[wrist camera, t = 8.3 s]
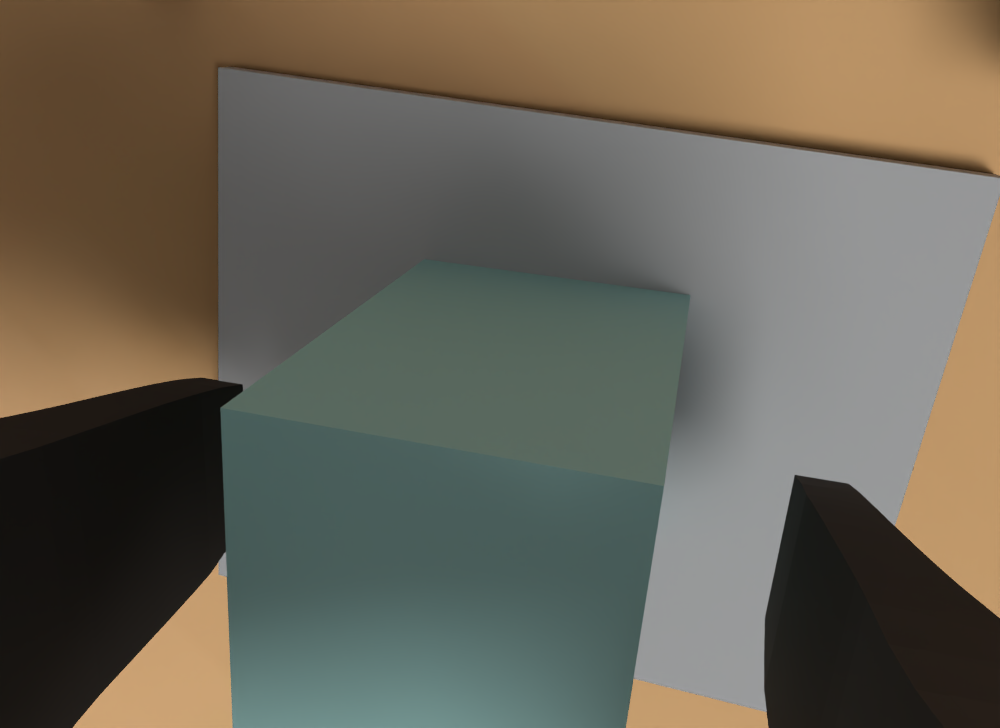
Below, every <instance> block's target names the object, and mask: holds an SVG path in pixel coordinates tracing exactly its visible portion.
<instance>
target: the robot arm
mask: <svg viewBox="0 0 1000 728" xmlns="http://www.w3.org/2000/svg"><path fill="white" fill-rule="evenodd" d="M241 392H243V384H237V383H231V382H225V381H219V380H212V379H206V378H192V379H181V380H174V381H168V382H163V383H157V384H152V385H148V386H143V387H138V388H134V389H129V390H125V391H120V392H116V393H112V394H107V395H103V396H99V397H95V398H90V399H86V400H82V401H77V402H73V403H69V404H65V405H60V406H56V407H52V408H47V409H42V410H37V411H33V412H28V413H23V414H18V415H13V416H9V417H4V418H0V728H73V726H74V725H75V724H76V722H77V721H78V720H79V719H80V718H81V716H82V715H83V714H84V713H85V712H86V711H87V709H88V708H89V707H90V706H91V705H92V703H93V702H94V701H95V700H96V699H97V698H98V696H99V695H100V694H101V693H102V692H103V691H104V690H105V689H106V687H107V686H108V685H109V684H110V683H111V682H112V681H113V680H114V679H115V678H116V677H117V676H118V674H119V673H120V672H121V671H122V670H123V669H124V668H125V667H126V666H127V665H128V664H129V663H130V661H131V660H132V659H133V658H134V657H135V656H136V655H137V654H138V653H139V652H140V651H141V650H142V648H143V647H144V646H145V645H146V644H147V643H148V642H149V641H150V640H151V639H152V638H153V637H154V635H155V634H156V633H157V632H158V631H159V630H160V629H161V628H162V627H163V626H164V625H165V624H166V622H167V621H168V620H169V619H170V618H171V617H172V616H173V615H174V614H175V613H176V612H177V610H178V609H179V608H180V607H181V606H182V605H183V604H184V603H185V602H186V600H187V599H188V598H189V597H190V596H191V595H192V594H193V593H194V592H195V590H196V589H197V588H198V587H199V586H200V585H201V584H202V583H203V581H204V580H205V579H206V578H207V577H208V576H209V574H210V573H211V572H212V570H213V569H214V568H215V566H216V565H217V563H218V562H219V560H220V559H221V558H222V556H223V555H224V553H225V552H226V539H225V513H224V488H223V462H222V436H221V411H220V408H221V407H222V406H224V405H225V404H226V403H228V402H229V401H230V400H232V399H233V398H235V397H236V396H237V395H239V394H240V393H241ZM764 693H765V701H766V710H767V718H768V726H769V728H1000V618H999V617H997V616H996V615H995V614H994V613H993V612H991V611H990V610H989V609H988V608H986V607H985V606H984V605H983V604H981V603H980V602H979V601H978V600H977V599H975V598H974V597H973V596H972V595H970V594H969V593H968V592H967V591H965V590H964V589H963V588H962V587H961V586H960V585H958V584H957V583H956V582H955V581H954V580H953V579H951V578H950V577H949V576H948V575H947V574H946V573H945V572H943V571H942V570H941V569H940V568H939V567H938V566H937V565H936V564H935V563H933V562H932V561H931V560H930V559H929V558H928V557H927V556H926V555H925V554H924V553H923V552H921V551H920V550H919V549H918V548H917V547H916V546H915V545H914V544H913V543H912V542H911V541H910V540H909V539H908V538H907V537H906V536H904V535H903V534H902V533H901V532H900V531H899V530H898V529H897V528H896V527H895V526H894V525H893V524H892V523H891V522H890V521H889V520H888V519H887V518H886V517H885V516H884V515H883V514H882V513H881V512H880V511H879V510H878V509H877V508H876V507H874V506H873V505H872V504H871V503H870V502H869V501H868V500H867V499H866V498H865V497H864V496H863V495H862V494H861V493H860V492H858V491H857V490H856V489H855V488H854V487H852V486H851V485H850V484H848V483H842V482H836V481H830V480H823V479H817V478H811V477H805V476H799V475H795V476H794V481H793V486H792V491H791V495H790V500H789V505H788V510H787V514H786V519H785V524H784V529H783V534H782V538H781V543H780V548H779V553H778V557H777V562H776V567H775V572H774V577H773V581H772V586H771V591H770V596H769V600H768V605H767V610H766V615H765V636H764Z"/></svg>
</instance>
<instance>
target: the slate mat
mask: <svg viewBox="0 0 1000 728" xmlns="http://www.w3.org/2000/svg"><path fill="white" fill-rule="evenodd" d="M999 196H1000V176H998V175H996V174H989V173H982V172H975V171H968V170H961V169H954V168H947V167H940V166H933V165H926V164H919V163H911V162H904V161H897V160H890V159H883V158H876V157H869V156H862V155H855V154H848V153H841V152H833V151H826V150H819V149H812V148H805V147H798V146H791V145H784V144H777V143H770V142H762V141H755V140H748V139H741V138H734V137H727V136H720V135H713V134H706V133H699V132H692V131H684V130H677V129H670V128H663V127H656V126H649V125H642V124H635V123H628V122H621V121H614V120H606V119H599V118H592V117H585V116H578V115H571V114H564V113H557V112H550V111H543V110H536V109H528V108H521V107H514V106H507V105H500V104H493V103H486V102H479V101H472V100H465V99H457V98H450V97H443V96H436V95H429V94H422V93H415V92H408V91H401V90H394V89H387V88H379V87H372V86H365V85H358V84H351V83H344V82H337V81H330V80H323V79H316V78H309V77H301V76H294V75H287V74H280V73H273V72H266V71H259V70H252V69H245V68H238V67H218V380H219V381H225V382H231V383H237V384H243V391H244V390H246V389H247V388H248V387H250V386H251V385H252V384H254V383H255V382H257V381H258V380H259V379H261V378H262V377H263V376H265V375H266V374H267V373H269V372H270V371H272V370H273V369H274V368H276V367H277V366H278V365H280V364H281V363H283V362H284V361H285V360H287V359H288V358H289V357H291V356H292V355H294V354H295V353H296V352H298V351H299V350H300V349H302V348H303V347H305V346H306V345H307V344H309V343H310V342H311V341H313V340H314V339H315V338H317V337H318V336H320V335H321V334H322V333H324V332H325V331H326V330H328V329H329V328H331V327H332V326H333V325H335V324H336V323H337V322H339V321H340V320H342V319H343V318H344V317H346V316H347V315H348V314H350V313H351V312H353V311H354V310H355V309H357V308H358V307H359V306H361V305H362V304H364V303H365V302H366V301H368V300H369V299H370V298H372V297H373V296H374V295H376V294H377V293H379V292H380V291H381V290H383V289H384V288H385V287H387V286H388V285H390V284H391V283H392V282H394V281H395V280H396V279H398V278H399V277H401V276H402V275H403V274H405V273H406V272H407V271H409V270H410V269H412V268H413V267H414V266H416V265H417V264H418V263H420V262H421V261H422V260H424V259H427V260H434V261H442V262H449V263H456V264H464V265H471V266H478V267H486V268H493V269H501V270H508V271H515V272H523V273H530V274H538V275H545V276H552V277H560V278H567V279H575V280H582V281H589V282H597V283H604V284H612V285H619V286H626V287H634V288H641V289H648V290H656V291H663V292H671V293H678V294H685V295H691V296H690V303H689V310H688V318H687V325H686V332H685V339H684V346H683V354H682V361H681V368H680V375H679V382H678V390H677V397H676V404H675V411H674V419H673V426H672V433H671V440H670V447H669V455H668V462H667V469H666V476H665V483H664V490H663V496H662V503H661V509H660V515H659V521H658V528H657V534H656V540H655V546H654V553H653V559H652V565H651V572H650V578H649V584H648V590H647V597H646V603H645V609H644V615H643V622H642V628H641V634H640V641H639V647H638V653H637V659H636V666H635V672H634V678H633V679H637V680H641V681H645V682H649V683H653V684H657V685H661V686H665V687H669V688H673V689H677V690H681V691H685V692H689V693H693V694H697V695H701V696H705V697H709V698H713V699H717V700H721V701H725V702H729V703H733V704H737V705H741V706H745V707H749V708H753V709H757V710H761V711H765V712H767V710H766V701H765V693H764V636H765V615H766V610H767V605H768V600H769V596H770V591H771V586H772V581H773V577H774V572H775V567H776V562H777V557H778V553H779V548H780V543H781V538H782V534H783V529H784V524H785V519H786V514H787V510H788V505H789V500H790V495H791V491H792V486H793V481H794V476H795V475H799V476H805V477H811V478H817V479H823V480H830V481H836V482H842V483H848V484H850V485H851V486H852V487H854V488H855V489H856V490H857V491H858V492H860V493H861V494H862V495H863V496H864V497H865V498H866V499H867V500H868V501H869V502H870V503H871V504H872V505H873V506H874V507H876V508H877V509H878V510H879V511H880V512H881V513H882V514H883V515H884V516H885V517H886V518H887V519H888V520H889V521H890V522H891V523H892V524H893V525H894V526H895V524H896V520H897V517H898V514H899V511H900V508H901V505H902V502H903V498H904V495H905V492H906V489H907V486H908V483H909V479H910V476H911V473H912V470H913V467H914V464H915V461H916V457H917V454H918V451H919V448H920V445H921V442H922V439H923V435H924V432H925V429H926V426H927V423H928V420H929V417H930V413H931V410H932V407H933V404H934V401H935V398H936V394H937V391H938V388H939V385H940V382H941V379H942V376H943V372H944V369H945V366H946V363H947V360H948V357H949V354H950V350H951V347H952V344H953V341H954V338H955V335H956V332H957V328H958V325H959V322H960V319H961V316H962V313H963V309H964V306H965V303H966V300H967V297H968V294H969V291H970V287H971V284H972V281H973V278H974V275H975V272H976V269H977V265H978V262H979V259H980V256H981V253H982V250H983V247H984V243H985V240H986V237H987V234H988V231H989V228H990V224H991V221H992V218H993V215H994V212H995V209H996V206H997V202H998V199H999ZM219 575H222V576H226V577H227V565H226V552H225V553H224V555H223V556H222V558H221V559H220V560H219Z"/></svg>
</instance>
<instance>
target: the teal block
mask: <svg viewBox="0 0 1000 728" xmlns="http://www.w3.org/2000/svg"><path fill="white" fill-rule="evenodd" d="M690 296H691V295H685V294H678V293H671V292H663V291H656V290H648V289H641V288H634V287H626V286H619V285H612V284H604V283H597V282H589V281H582V280H575V279H567V278H560V277H552V276H545V275H538V274H530V273H523V272H515V271H508V270H501V269H493V268H486V267H478V266H471V265H464V264H456V263H449V262H442V261H434V260H427V259H424V260H422V261H421V262H420V263H418V264H417V265H416V266H414V267H413V268H412V269H410V270H409V271H407V272H406V273H405V274H403V275H402V276H401V277H399V278H398V279H396V280H395V281H394V282H392V283H391V284H390V285H388V286H387V287H385V288H384V289H383V290H381V291H380V292H379V293H377V294H376V295H374V296H373V297H372V298H370V299H369V300H368V301H366V302H365V303H364V304H362V305H361V306H359V307H358V308H357V309H355V310H354V311H353V312H351V313H350V314H348V315H347V316H346V317H344V318H343V319H342V320H340V321H339V322H337V323H336V324H335V325H333V326H332V327H331V328H329V329H328V330H326V331H325V332H324V333H322V334H321V335H320V336H318V337H317V338H315V339H314V340H313V341H311V342H310V343H309V344H307V345H306V346H305V347H303V348H302V349H300V350H299V351H298V352H296V353H295V354H294V355H292V356H291V357H289V358H288V359H287V360H285V361H284V362H283V363H281V364H280V365H278V366H277V367H276V368H274V369H273V370H272V371H270V372H269V373H267V374H266V375H265V376H263V377H262V378H261V379H259V380H258V381H257V382H255V383H254V384H252V385H251V386H250V387H248V388H247V389H246V390H244V391H243V392H241V393H240V394H239V395H237V396H236V397H235V398H233V399H232V400H230V401H229V402H228V403H226V404H225V405H224V406H222V407H221V408H220V411H221V436H222V462H223V488H224V513H225V539H226V565H227V590H228V616H229V642H230V667H231V693H232V719H233V728H626V722H627V716H628V710H629V703H630V697H631V691H632V684H633V678H634V672H635V666H636V659H637V653H638V647H639V641H640V634H641V628H642V622H643V615H644V609H645V603H646V597H647V590H648V584H649V578H650V572H651V565H652V559H653V553H654V546H655V540H656V534H657V528H658V521H659V515H660V509H661V503H662V496H663V490H664V483H665V476H666V469H667V462H668V455H669V447H670V440H671V433H672V426H673V419H674V411H675V404H676V397H677V390H678V382H679V375H680V368H681V361H682V354H683V346H684V339H685V332H686V325H687V318H688V310H689V303H690Z"/></svg>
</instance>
